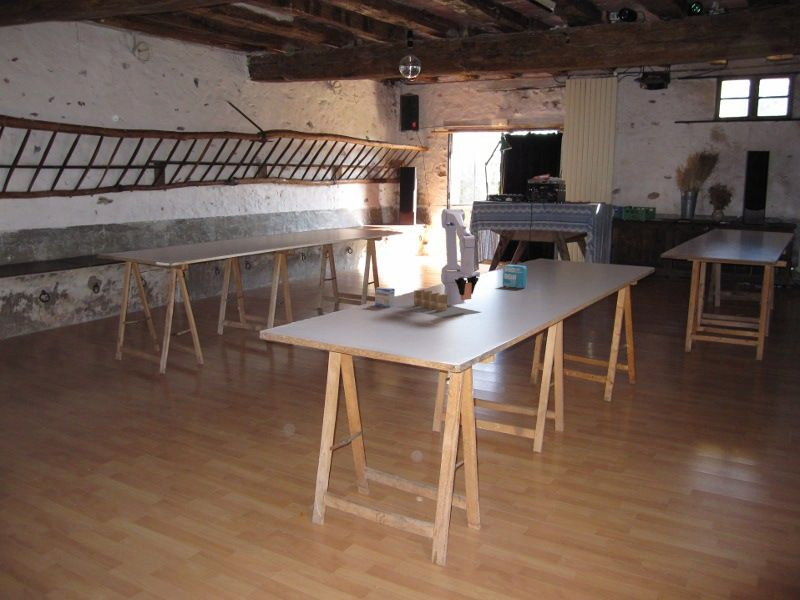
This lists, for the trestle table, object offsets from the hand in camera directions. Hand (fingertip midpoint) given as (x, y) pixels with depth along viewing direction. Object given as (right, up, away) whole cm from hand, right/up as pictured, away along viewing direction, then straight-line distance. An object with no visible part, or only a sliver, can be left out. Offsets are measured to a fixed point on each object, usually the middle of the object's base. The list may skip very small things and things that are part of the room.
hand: (466, 294), depth 299 cm
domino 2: (-17, -6, +10) cm, 21 cm away
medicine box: (-36, -6, +13) cm, 39 cm away
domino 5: (0, -2, 0) cm, 2 cm away
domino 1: (-20, -5, +14) cm, 25 cm away
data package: (+33, +4, +73) cm, 80 cm away
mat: (-12, -7, +6) cm, 15 cm away
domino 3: (-14, -7, +7) cm, 17 cm away
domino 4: (-11, -7, +3) cm, 13 cm away
